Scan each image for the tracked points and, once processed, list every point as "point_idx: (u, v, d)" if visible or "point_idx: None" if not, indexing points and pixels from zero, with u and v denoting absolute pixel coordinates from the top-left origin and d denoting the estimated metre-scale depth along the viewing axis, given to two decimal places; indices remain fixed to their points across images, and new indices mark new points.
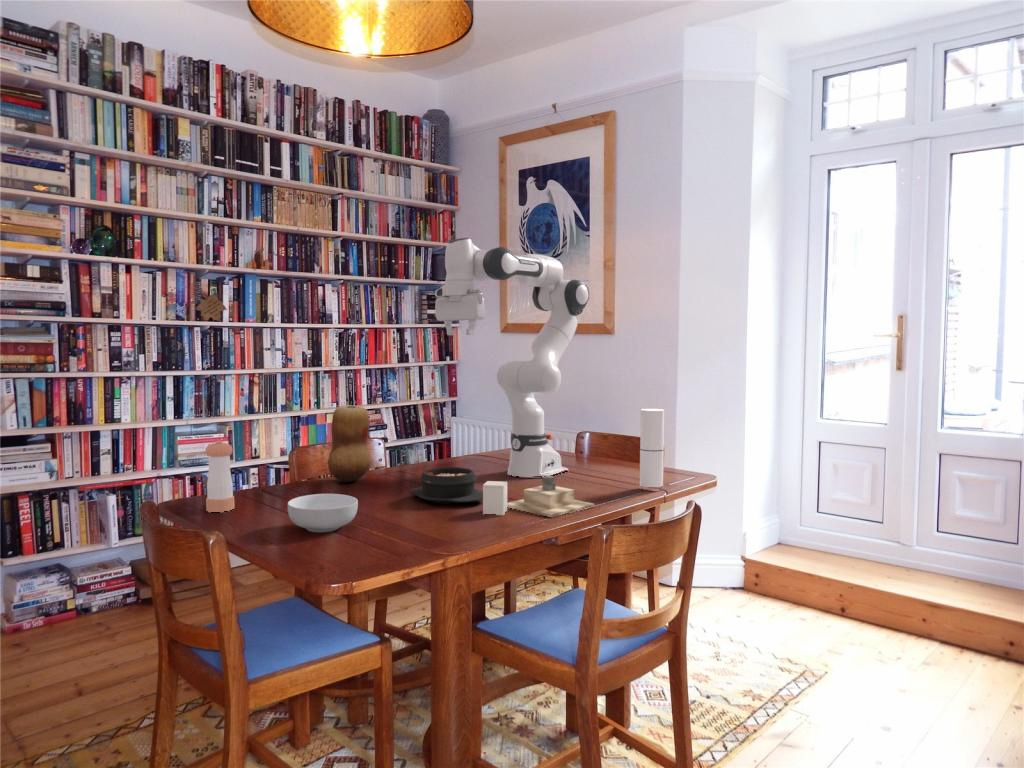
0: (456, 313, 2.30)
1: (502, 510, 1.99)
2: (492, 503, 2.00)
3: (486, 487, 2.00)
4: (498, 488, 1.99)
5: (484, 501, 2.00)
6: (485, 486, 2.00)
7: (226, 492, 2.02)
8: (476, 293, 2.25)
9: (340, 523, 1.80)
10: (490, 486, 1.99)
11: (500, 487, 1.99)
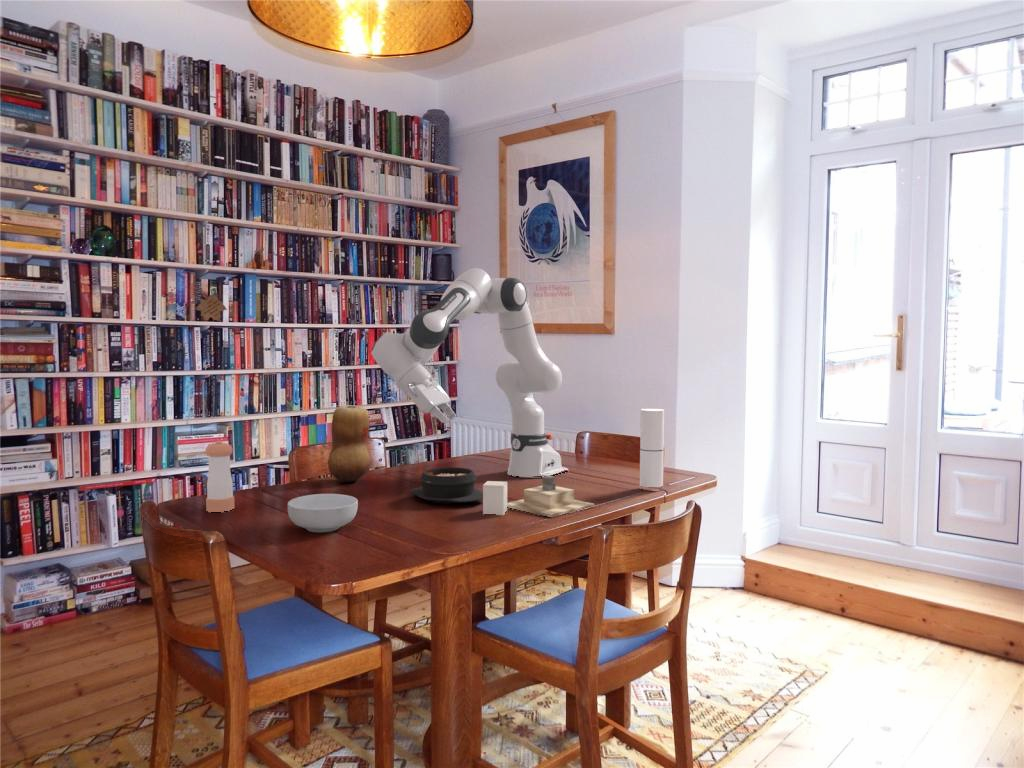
0: None
1: (502, 510, 1.99)
2: (492, 503, 2.00)
3: (486, 487, 2.00)
4: (498, 488, 1.99)
5: (484, 501, 2.00)
6: (485, 486, 2.00)
7: (226, 492, 2.02)
8: None
9: (340, 523, 1.80)
10: (490, 486, 1.99)
11: (500, 487, 1.99)
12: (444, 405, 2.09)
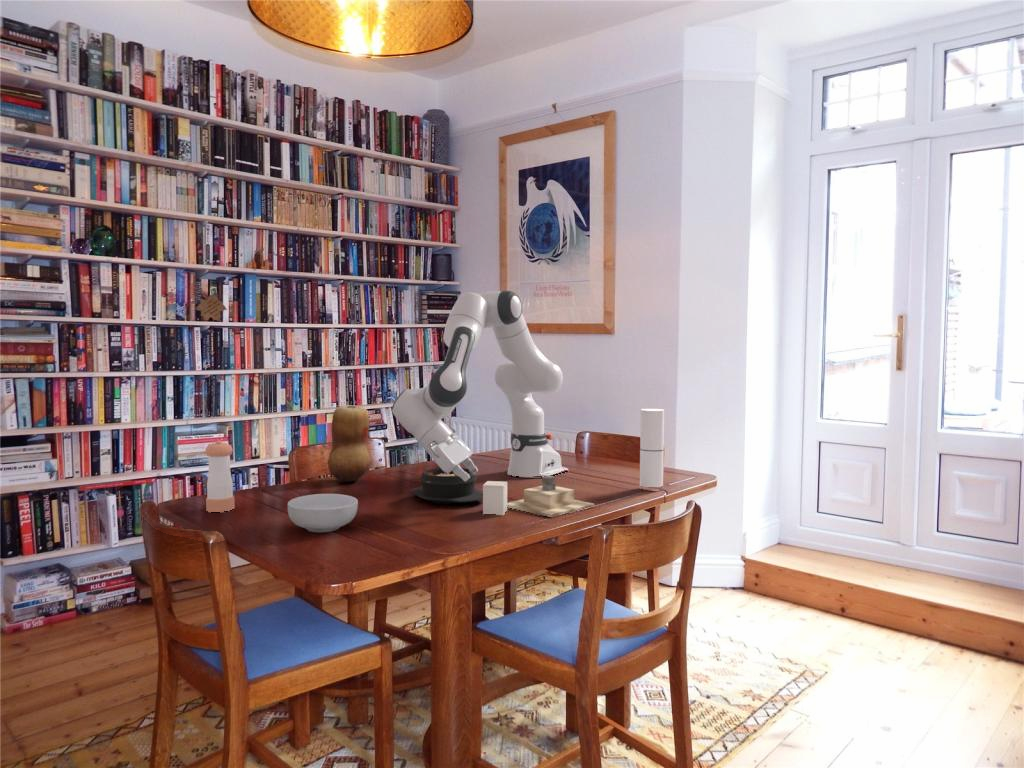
0: None
1: (502, 510, 1.99)
2: (492, 503, 2.00)
3: (486, 487, 2.00)
4: (498, 488, 1.99)
5: (484, 501, 2.00)
6: (485, 486, 2.00)
7: (226, 492, 2.02)
8: None
9: (340, 523, 1.80)
10: (490, 486, 1.99)
11: (500, 487, 1.99)
12: (466, 460, 2.08)
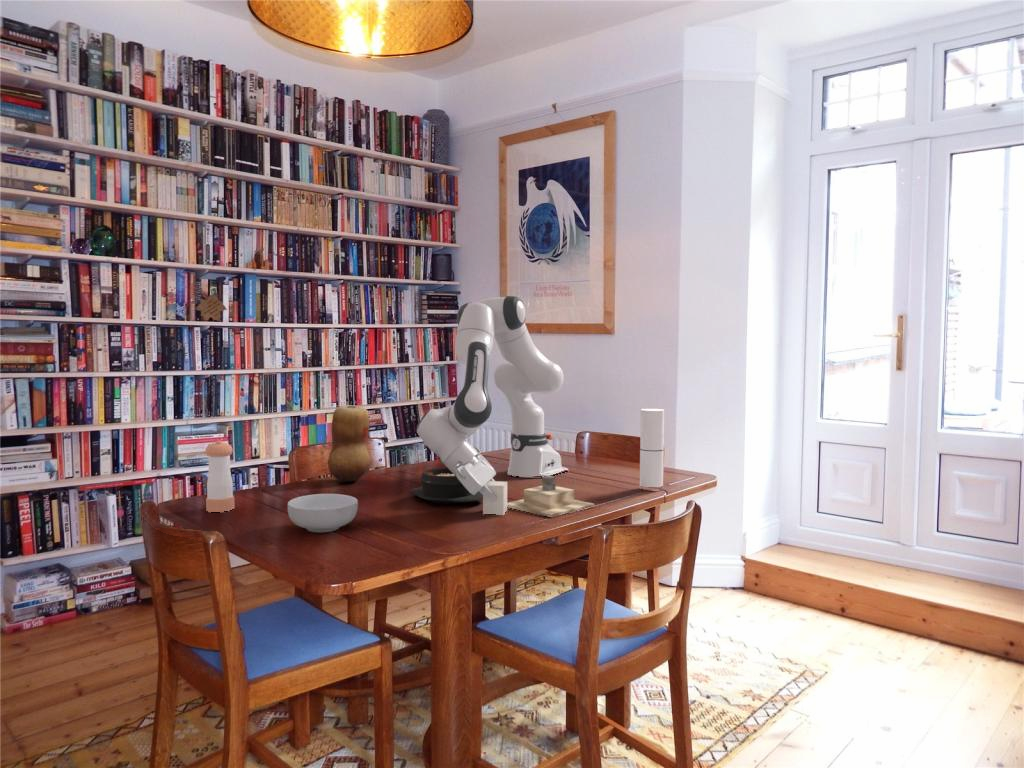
0: None
1: (502, 510, 1.99)
2: (492, 503, 2.00)
3: None
4: (498, 488, 1.99)
5: (484, 501, 2.00)
6: None
7: (226, 492, 2.02)
8: None
9: (340, 523, 1.80)
10: (490, 486, 1.99)
11: (500, 487, 1.99)
12: None
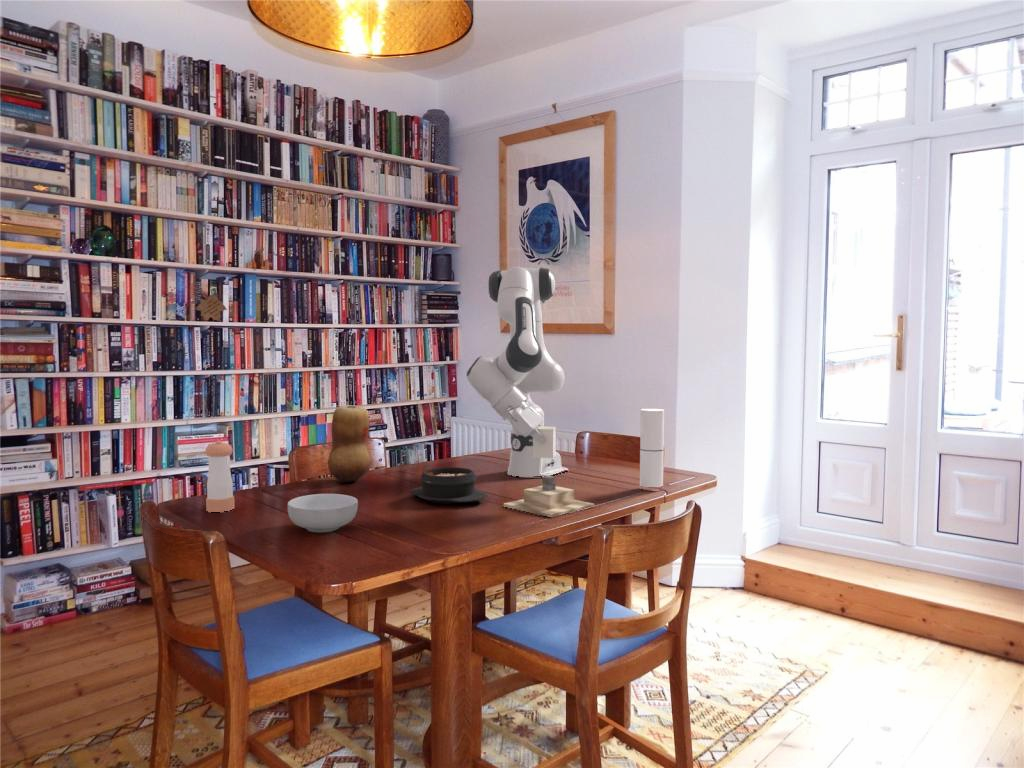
0: None
1: (552, 453, 2.04)
2: (541, 446, 2.05)
3: None
4: (548, 431, 2.04)
5: (534, 444, 2.05)
6: None
7: (226, 492, 2.02)
8: None
9: (340, 523, 1.80)
10: (540, 430, 2.04)
11: (550, 430, 2.04)
12: None
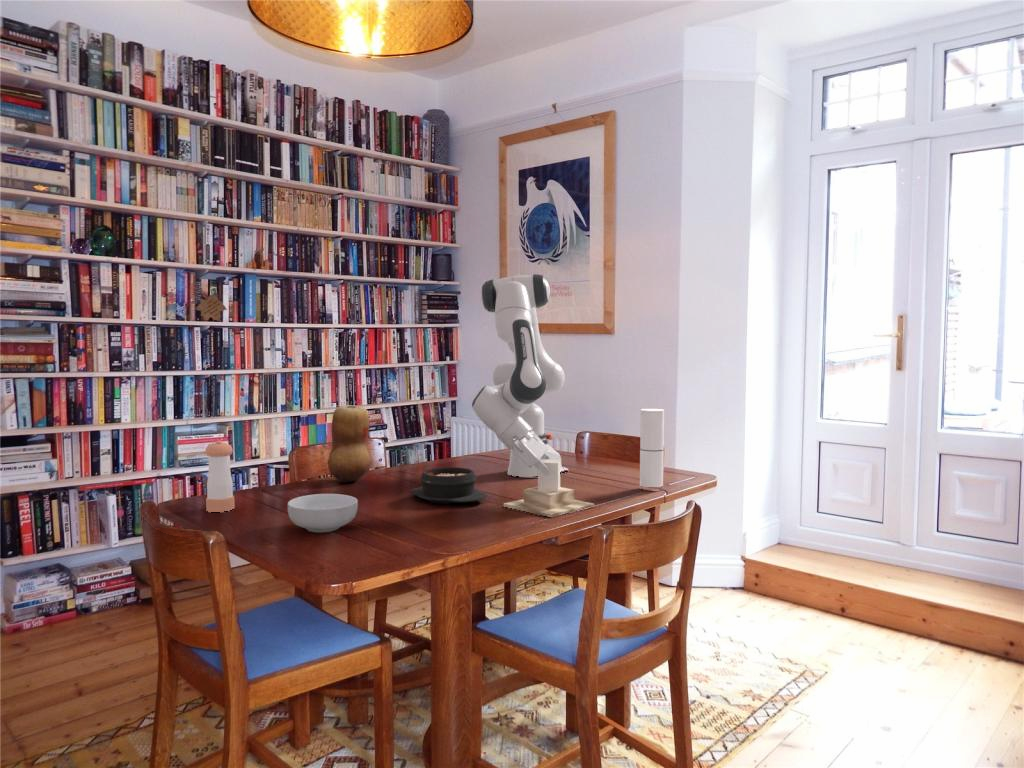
0: None
1: (556, 487, 2.05)
2: (546, 480, 2.06)
3: None
4: (553, 465, 2.05)
5: (539, 478, 2.06)
6: None
7: (226, 492, 2.02)
8: None
9: (340, 523, 1.80)
10: (545, 463, 2.05)
11: (555, 464, 2.05)
12: (543, 455, 2.13)
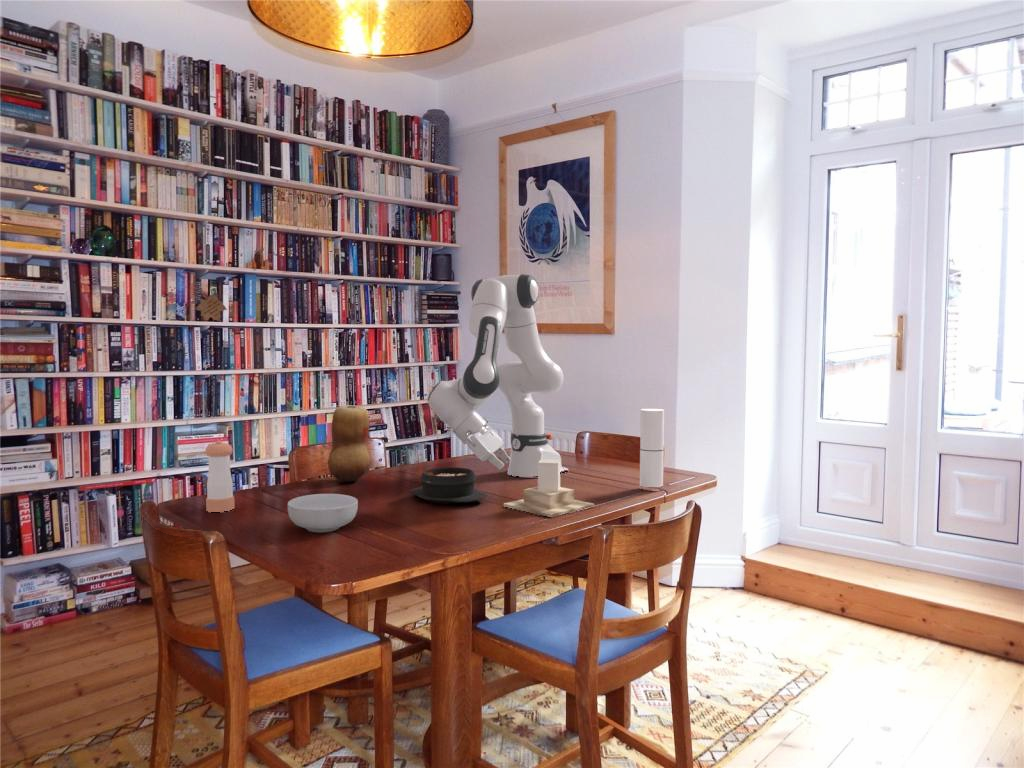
0: None
1: (556, 487, 2.05)
2: (546, 480, 2.06)
3: (541, 464, 2.06)
4: (553, 465, 2.05)
5: (539, 478, 2.06)
6: (540, 463, 2.06)
7: (226, 492, 2.02)
8: None
9: (340, 523, 1.80)
10: (545, 463, 2.05)
11: (555, 464, 2.05)
12: (499, 449, 2.16)
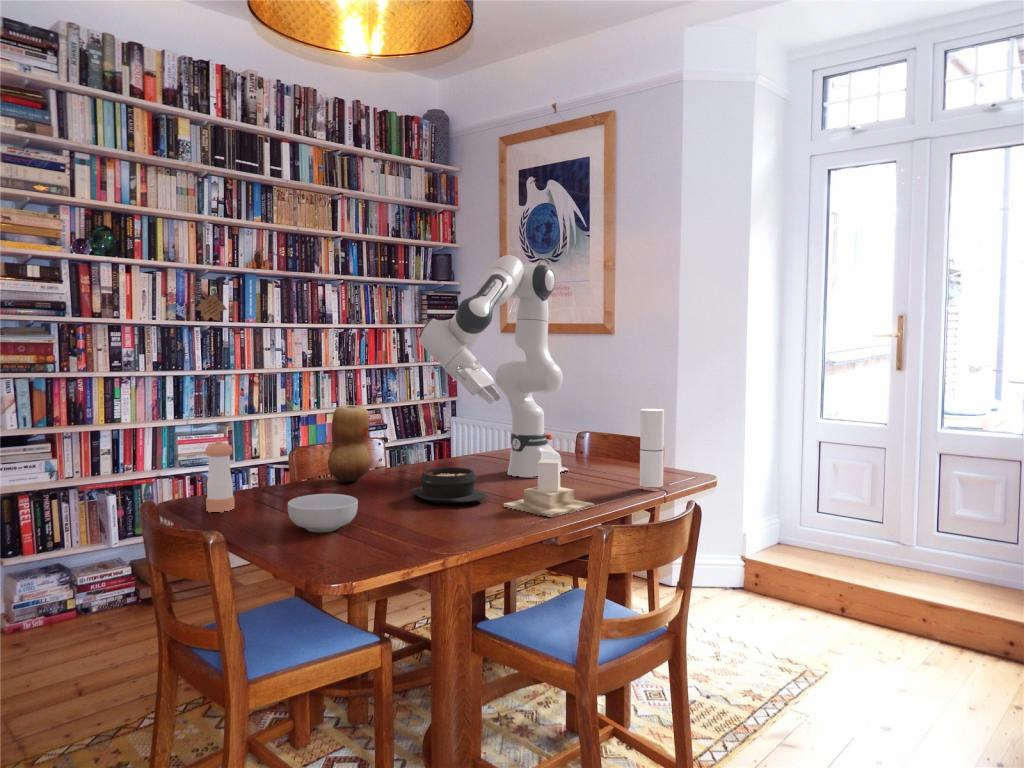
0: None
1: (556, 487, 2.05)
2: (546, 480, 2.06)
3: (541, 464, 2.06)
4: (553, 465, 2.05)
5: (539, 478, 2.06)
6: (540, 463, 2.06)
7: (226, 492, 2.02)
8: None
9: (340, 523, 1.80)
10: (545, 463, 2.05)
11: (555, 464, 2.05)
12: (489, 387, 2.18)
